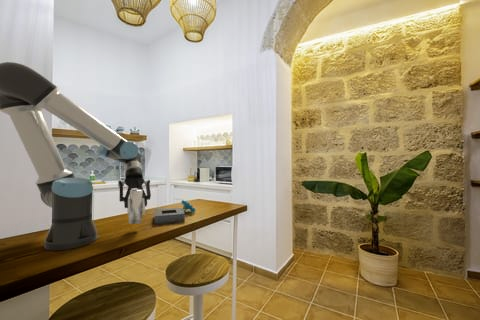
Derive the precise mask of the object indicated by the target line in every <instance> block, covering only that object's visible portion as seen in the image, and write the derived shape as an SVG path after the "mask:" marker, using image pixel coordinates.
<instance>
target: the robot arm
mask: <svg viewBox="0 0 480 320" xmlns="http://www.w3.org/2000/svg"><path fill="white" fill-rule="evenodd" d="M43 109H44V110H45V111H46V112H49V113H50V114H52V115H54V116H55V117H56V118H57V119H60V120H61V121H63V122H65V124H68V125H69V126H70V127H72V128H74V129H76V130H77V131H79V132H80V133H81V134H83V135H85V136H87V137H88V138H90V139H91V140H92V141H94V142H96V143H97V144H99V146H98V149H97V153H98V154H99V155H100V156H103V157H104V158H108V159H111V160H113V161H117V162H119V163H122V164H124V168H125V169H124V170H125V171H124V173H125V174H124V175H125V179H124V180H123V181H122V180H118V183H117V186H118V189H119V202H121V203H122V202H123V203H124V205H123V206H124V209H127V216H128V217H129V215H130V190H134V189H141V190H143V195H142V215H145V213H146V207H147V206H148V200H151V197H152V194H151V188H150V187H151V186H150V184H151V180H150V179H148V180H145V179H144V174H143V164H142V155H141V154H142V153H141V150H140V149H139V146H138V144H136V143H135V142H134V141H130V140H127V139H125V138H123V137H122V136H121V135H119V134H118V133H116V132H115V131H114V130H112V129H111V128H109V127H108V126H106V124H104V123H103V122H101V121H100V119H99V120H98V119H97V118H96V117H94V116H93V115H92V114H90V113H89V112H88V111H86V110H85V109H83V108H82V107H81V106H79V105H78V104H76V103H75V102H74V101H72V100H71V99H70V98H69V97H67V96H65V95H64V94H63V93H61V92H60V91H59V87H58V86H57V85H55V84H54V83H53V82H52V81H50V80H48V79H47V78H46V77H44V76H43V75H42V74H40V73H39V72H37V71H36V70H34V69H33V68H31V67H29V66H27V65H25V64H22V63H17V62H13V61H12V62H11V61H10V62H9V61H7V62H0V112H2V113H4V114H6V115H8V116H9V118H10V119H11V120H10V121H11V122H12V124H13V126H14V128H15V130H16V132H17V134H18V136H19V138H20V141H21V142H22V144H23V147H24V149H25V151H26V153H27V155H28V158H29V159H30V161H31V163H32V166H33V168H34V170H35V172H36V174H37V176H38V178H37V180H36V182H35V185H36V187H37V188H38V191H39V192H40V199H41V201H42V203H44V205H46V206H47V207H49V208H51V225H50V227H49V229H48V232H47V233H46V237H45V239H44V245H43V246H44V249H45V250H47V251H53V252H55V251H64V250H65V251H67V250H72V249H76V248H81V247H83V246H86V245H90V244H91V243H93V242H95V241H96V240H97V239H98V230H97V228H96V225H95V222H94V220H93V192H94V185H93V181H92V180H91V179H88V178H84V177H82V178H81V177H76V176H75V174H74V171H71V170H69V169H67V167H66V165H65V163H64V161H63V158H62V156H61V154H60V151H59V149H58V147H57V144H56V142H55V139H54V137H53V135H52V133H51V131H50V128H49V127H48V124H47V122H46V120H45V117H44V115H43V113H42V110H43ZM143 185H144V186H145V190H144V188H143ZM124 186H126V187H127V190H126V193H125V195H124ZM145 191H146V192H145Z"/></svg>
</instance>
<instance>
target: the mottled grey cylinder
mask: <svg viewBox="0 0 480 320" xmlns="http://www.w3.org/2000/svg"><path fill="white" fill-rule="evenodd" d="M143 190H144V189H143ZM143 190H141V189H138V188H134V189H131V190H130V195H129V199H130V215H129V216H128V224H130V225H136V224H140V223H142V221H143V213H142V195H143Z"/></svg>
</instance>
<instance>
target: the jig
mask: <svg viewBox="0 0 480 320" xmlns="http://www.w3.org/2000/svg"><path fill="white" fill-rule="evenodd" d="M182 209H183V207H174V208H173V207H172V208H161V209H154V225H164V224H165V225H166V224H172V223H173V224H174V223H184V222H186V221H185V218H186V217H185V216H186V214H185V213H184V212H183V211H184V210H182Z"/></svg>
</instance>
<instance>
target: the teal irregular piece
mask: <svg viewBox="0 0 480 320" xmlns="http://www.w3.org/2000/svg"><path fill="white" fill-rule="evenodd" d="M181 203H182V210H183V212H184V213H185V212H187V211H188V210H190V211H191V212H192V213H193V212H194V213H195V212H196V209H195V207H194V206H193V205H191V204H190V203H189V202H187V201H186V200H181Z"/></svg>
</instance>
